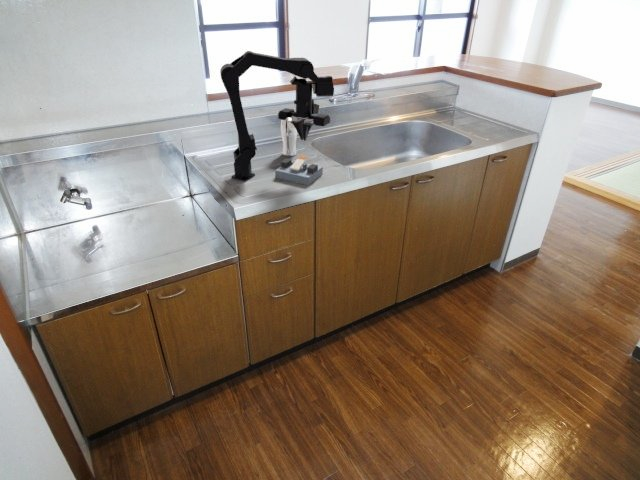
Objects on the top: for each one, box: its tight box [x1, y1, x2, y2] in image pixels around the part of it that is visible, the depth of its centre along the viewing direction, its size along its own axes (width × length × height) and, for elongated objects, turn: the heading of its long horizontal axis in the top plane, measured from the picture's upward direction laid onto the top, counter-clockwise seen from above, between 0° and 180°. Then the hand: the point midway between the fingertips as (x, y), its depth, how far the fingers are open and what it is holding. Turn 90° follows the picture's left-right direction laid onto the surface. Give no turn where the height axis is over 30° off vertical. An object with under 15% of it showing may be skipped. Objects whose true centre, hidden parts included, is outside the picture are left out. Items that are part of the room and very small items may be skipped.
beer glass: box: [280, 117, 298, 157], centre depth 178 cm, size 7×7×15 cm
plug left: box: [280, 158, 292, 168], centre depth 162 cm, size 4×2×2 cm, turn 154°
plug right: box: [307, 163, 319, 174], centre depth 158 cm, size 4×2×2 cm, turn 154°
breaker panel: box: [274, 159, 324, 186], centre depth 160 cm, size 12×14×5 cm
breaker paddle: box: [290, 154, 309, 171], centre depth 159 cm, size 8×4×1 cm, turn 154°
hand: (303, 140), depth 158 cm, fingers closed
